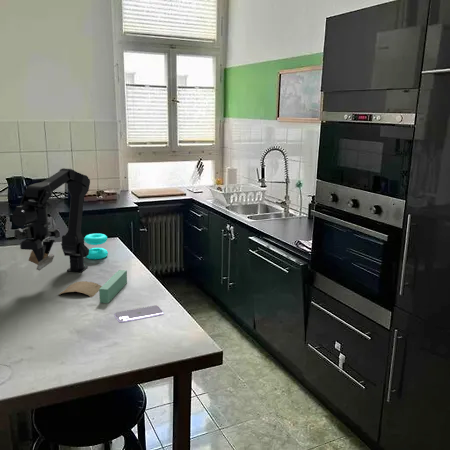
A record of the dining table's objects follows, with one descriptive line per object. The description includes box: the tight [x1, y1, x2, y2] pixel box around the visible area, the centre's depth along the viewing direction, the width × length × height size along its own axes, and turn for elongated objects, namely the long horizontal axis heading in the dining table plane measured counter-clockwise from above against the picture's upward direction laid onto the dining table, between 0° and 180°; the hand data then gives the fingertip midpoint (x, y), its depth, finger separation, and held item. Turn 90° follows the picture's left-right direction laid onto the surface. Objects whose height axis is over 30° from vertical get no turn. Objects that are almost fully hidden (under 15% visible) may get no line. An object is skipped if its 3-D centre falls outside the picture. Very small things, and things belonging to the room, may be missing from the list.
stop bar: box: [98, 269, 128, 304], centre depth 166 cm, size 20×3×5 cm, turn 173°
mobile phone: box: [113, 304, 165, 323], centre depth 149 cm, size 8×1×15 cm
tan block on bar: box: [27, 250, 55, 271], centre depth 167 cm, size 6×10×4 cm, turn 176°
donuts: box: [83, 232, 109, 260], centre depth 205 cm, size 10×10×10 cm
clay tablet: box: [59, 280, 103, 298], centre depth 166 cm, size 14×10×3 cm
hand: (42, 261), depth 168 cm, fingers closed on tan block on bar, 3 cm apart
